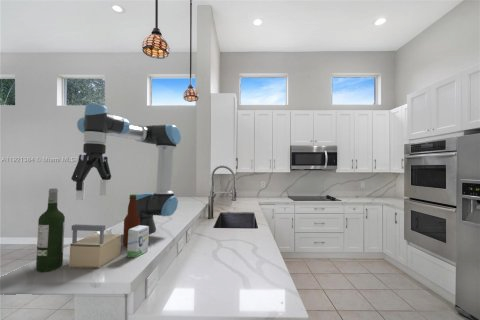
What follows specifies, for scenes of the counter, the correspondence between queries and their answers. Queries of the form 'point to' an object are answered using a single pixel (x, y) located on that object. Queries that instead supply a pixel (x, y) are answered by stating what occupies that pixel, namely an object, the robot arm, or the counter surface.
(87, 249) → the carton
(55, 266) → the wine bottle
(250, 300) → the counter surface
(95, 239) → the flap
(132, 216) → the bottle
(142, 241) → the ink box
